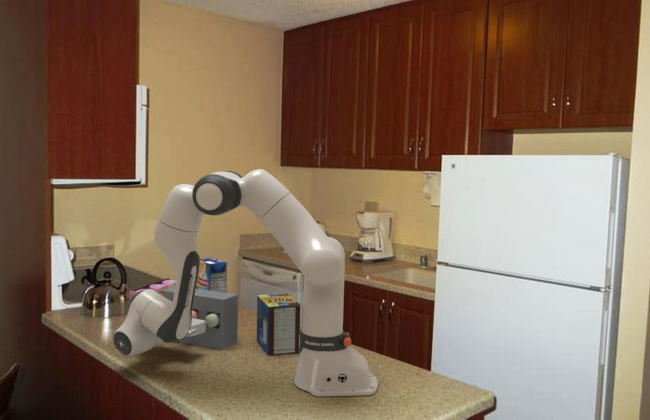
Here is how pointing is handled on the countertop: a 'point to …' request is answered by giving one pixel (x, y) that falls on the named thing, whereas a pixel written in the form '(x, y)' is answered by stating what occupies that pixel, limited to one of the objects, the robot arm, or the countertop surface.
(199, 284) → the beverage box
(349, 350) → the robot arm
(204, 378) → the countertop surface
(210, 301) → the button panel
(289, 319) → the protein box
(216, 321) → the sage button
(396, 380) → the countertop surface
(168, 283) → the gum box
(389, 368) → the countertop surface
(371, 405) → the countertop surface
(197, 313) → the terracotta button
